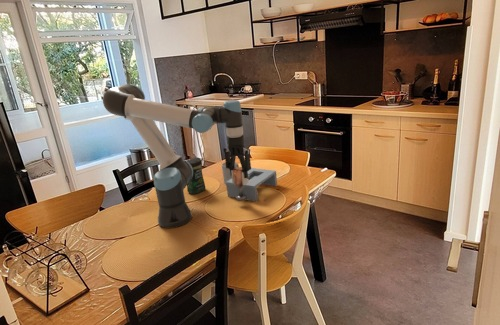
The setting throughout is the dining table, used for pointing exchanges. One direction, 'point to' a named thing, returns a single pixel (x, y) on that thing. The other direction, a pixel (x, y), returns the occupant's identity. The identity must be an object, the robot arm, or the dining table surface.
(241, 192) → the peg
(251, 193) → the platform
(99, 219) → the dining table surface
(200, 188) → the coffee jar
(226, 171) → the mug
